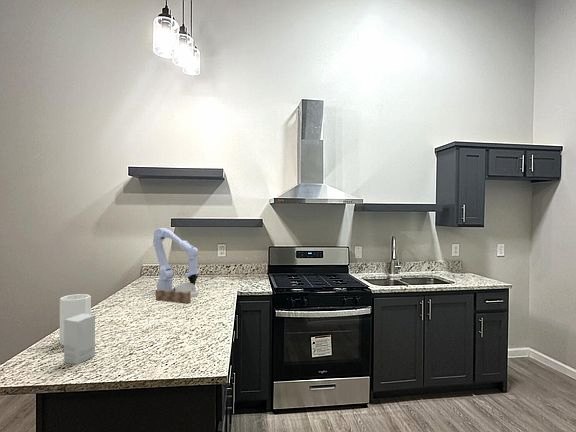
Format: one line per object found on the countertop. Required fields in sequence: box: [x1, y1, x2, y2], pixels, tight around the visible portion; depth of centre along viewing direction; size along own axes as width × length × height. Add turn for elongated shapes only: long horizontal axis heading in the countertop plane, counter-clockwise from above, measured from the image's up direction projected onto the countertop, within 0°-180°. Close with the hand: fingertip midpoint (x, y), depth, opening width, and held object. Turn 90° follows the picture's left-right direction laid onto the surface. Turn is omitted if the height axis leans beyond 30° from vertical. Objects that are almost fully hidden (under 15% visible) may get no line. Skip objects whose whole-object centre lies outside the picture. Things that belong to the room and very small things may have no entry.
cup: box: [59, 293, 92, 347], centre depth 150 cm, size 11×11×18 cm
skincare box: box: [63, 313, 96, 365], centre depth 131 cm, size 8×7×16 cm
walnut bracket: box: [155, 289, 192, 304], centre depth 223 cm, size 24×9×6 cm, turn 70°
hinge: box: [172, 282, 199, 298], centre depth 231 cm, size 17×5×10 cm, turn 148°
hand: (192, 286), depth 239 cm, fingers closed
